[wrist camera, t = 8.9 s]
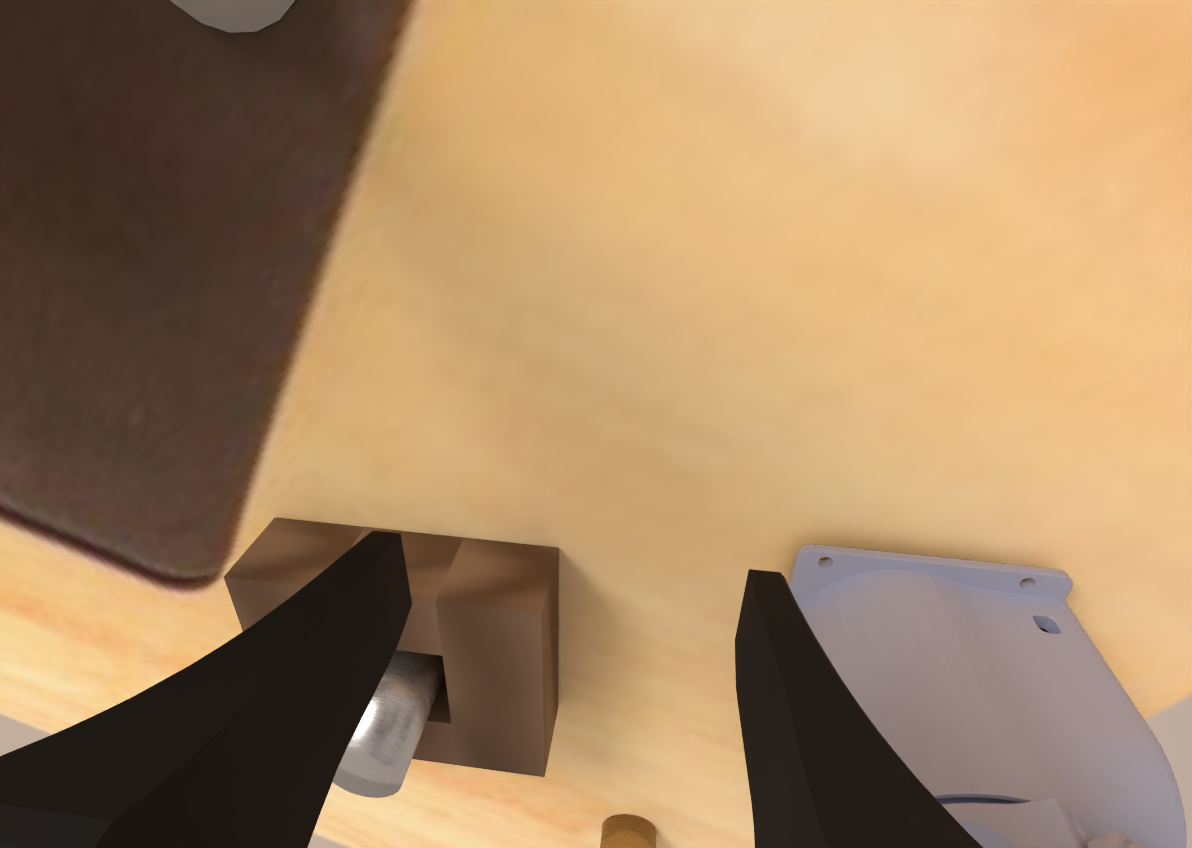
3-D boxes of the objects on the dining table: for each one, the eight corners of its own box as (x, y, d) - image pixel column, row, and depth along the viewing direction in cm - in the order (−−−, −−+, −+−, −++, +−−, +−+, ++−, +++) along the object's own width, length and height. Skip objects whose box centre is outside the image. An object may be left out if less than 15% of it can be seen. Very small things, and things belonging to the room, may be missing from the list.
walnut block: (558, 548, 26) (541, 613, 23) (558, 706, 31) (544, 776, 28) (274, 517, 27) (223, 576, 24) (319, 675, 32) (281, 740, 29)
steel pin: (460, 606, 29) (400, 756, 23) (460, 652, 30) (403, 804, 24) (394, 595, 29) (316, 740, 23) (397, 641, 30) (325, 788, 24)
